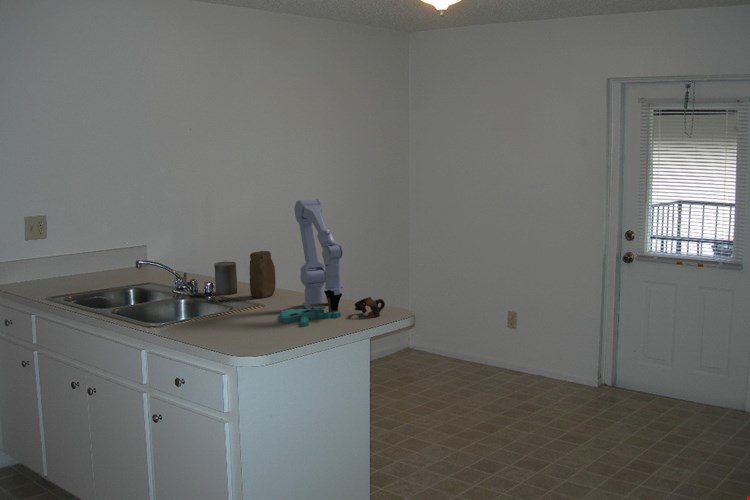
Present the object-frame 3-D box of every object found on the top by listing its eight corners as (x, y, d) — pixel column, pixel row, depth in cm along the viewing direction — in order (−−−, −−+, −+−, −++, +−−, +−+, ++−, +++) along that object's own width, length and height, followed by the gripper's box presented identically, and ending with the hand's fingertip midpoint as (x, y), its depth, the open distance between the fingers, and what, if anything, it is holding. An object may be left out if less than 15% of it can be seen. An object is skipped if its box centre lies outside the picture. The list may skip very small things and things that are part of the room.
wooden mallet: (310, 314, 306) (309, 299, 305) (335, 312, 308) (335, 297, 308) (312, 316, 302) (311, 301, 301) (338, 314, 305) (337, 299, 304)
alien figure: (340, 318, 300) (304, 311, 313) (340, 312, 300) (303, 306, 313) (304, 327, 285) (267, 320, 298) (304, 322, 285) (267, 314, 297)
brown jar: (259, 299, 336) (258, 253, 333) (248, 297, 340) (246, 252, 338) (278, 295, 344) (276, 250, 341) (266, 293, 349) (265, 249, 346)
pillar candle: (238, 290, 356) (236, 258, 354) (236, 294, 346) (235, 261, 344) (216, 291, 355) (214, 259, 353) (214, 295, 345) (212, 262, 343)
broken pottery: (363, 320, 296) (355, 301, 297) (358, 326, 304) (350, 307, 306) (391, 310, 300) (382, 290, 302) (385, 315, 309) (376, 297, 310)
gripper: (347, 277, 298) (347, 312, 300) (338, 271, 312) (338, 304, 314) (329, 279, 296) (329, 313, 298) (321, 272, 310) (321, 306, 312)
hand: (333, 309), depth 306 cm, fingers closed on wooden mallet, 4 cm apart
